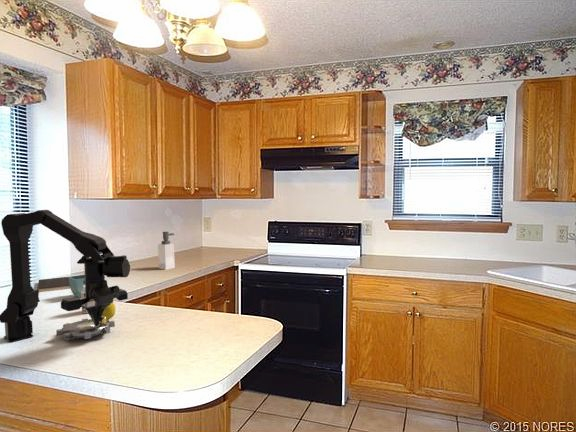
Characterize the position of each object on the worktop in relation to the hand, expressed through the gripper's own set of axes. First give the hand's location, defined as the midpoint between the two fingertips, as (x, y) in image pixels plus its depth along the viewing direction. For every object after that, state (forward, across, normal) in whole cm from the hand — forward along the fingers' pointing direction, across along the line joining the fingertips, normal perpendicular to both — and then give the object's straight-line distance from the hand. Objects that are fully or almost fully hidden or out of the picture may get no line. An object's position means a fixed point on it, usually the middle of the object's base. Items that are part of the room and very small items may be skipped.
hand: (96, 325), depth 129 cm
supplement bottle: (+4, +11, +31) cm, 33 cm away
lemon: (+4, +10, +14) cm, 18 cm away
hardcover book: (+4, +20, +90) cm, 92 cm away
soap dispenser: (+3, +80, +85) cm, 117 cm away
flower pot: (+4, +19, +57) cm, 60 cm away
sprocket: (+2, -1, +5) cm, 6 cm away
